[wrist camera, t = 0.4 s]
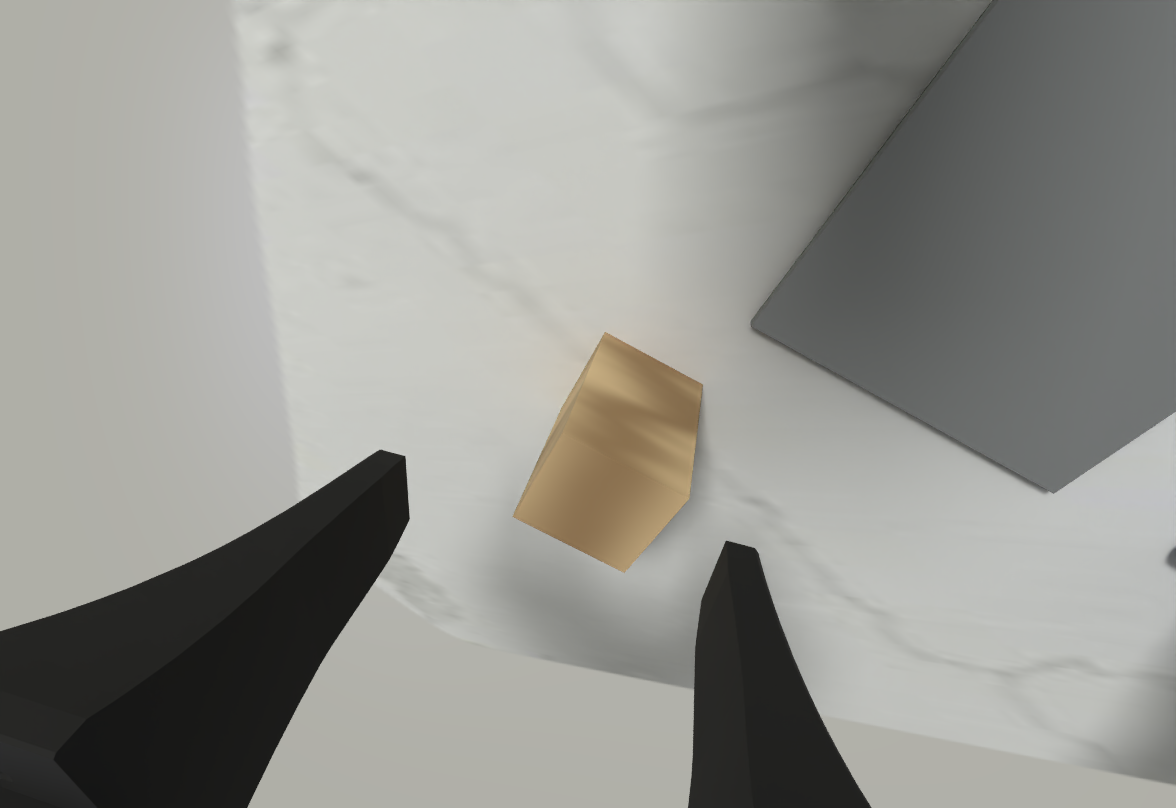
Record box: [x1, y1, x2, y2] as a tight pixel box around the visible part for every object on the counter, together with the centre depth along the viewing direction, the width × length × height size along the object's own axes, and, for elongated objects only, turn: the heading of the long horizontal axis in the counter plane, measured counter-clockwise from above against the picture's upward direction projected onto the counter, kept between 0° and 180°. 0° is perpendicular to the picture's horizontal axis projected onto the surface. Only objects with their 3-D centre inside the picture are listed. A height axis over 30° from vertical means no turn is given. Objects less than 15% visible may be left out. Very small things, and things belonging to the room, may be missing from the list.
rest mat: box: [751, 0, 1176, 494], centre depth 16 cm, size 12×12×1 cm
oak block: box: [513, 332, 703, 573], centre depth 20 cm, size 4×4×6 cm
